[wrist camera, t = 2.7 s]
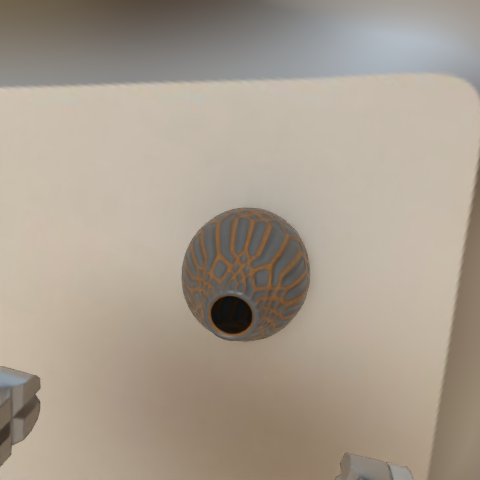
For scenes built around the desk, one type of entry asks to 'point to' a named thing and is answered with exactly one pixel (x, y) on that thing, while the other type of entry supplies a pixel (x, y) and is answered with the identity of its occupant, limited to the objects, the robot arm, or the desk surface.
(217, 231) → the vase
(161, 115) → the desk surface
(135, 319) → the desk surface
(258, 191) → the desk surface
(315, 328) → the desk surface
